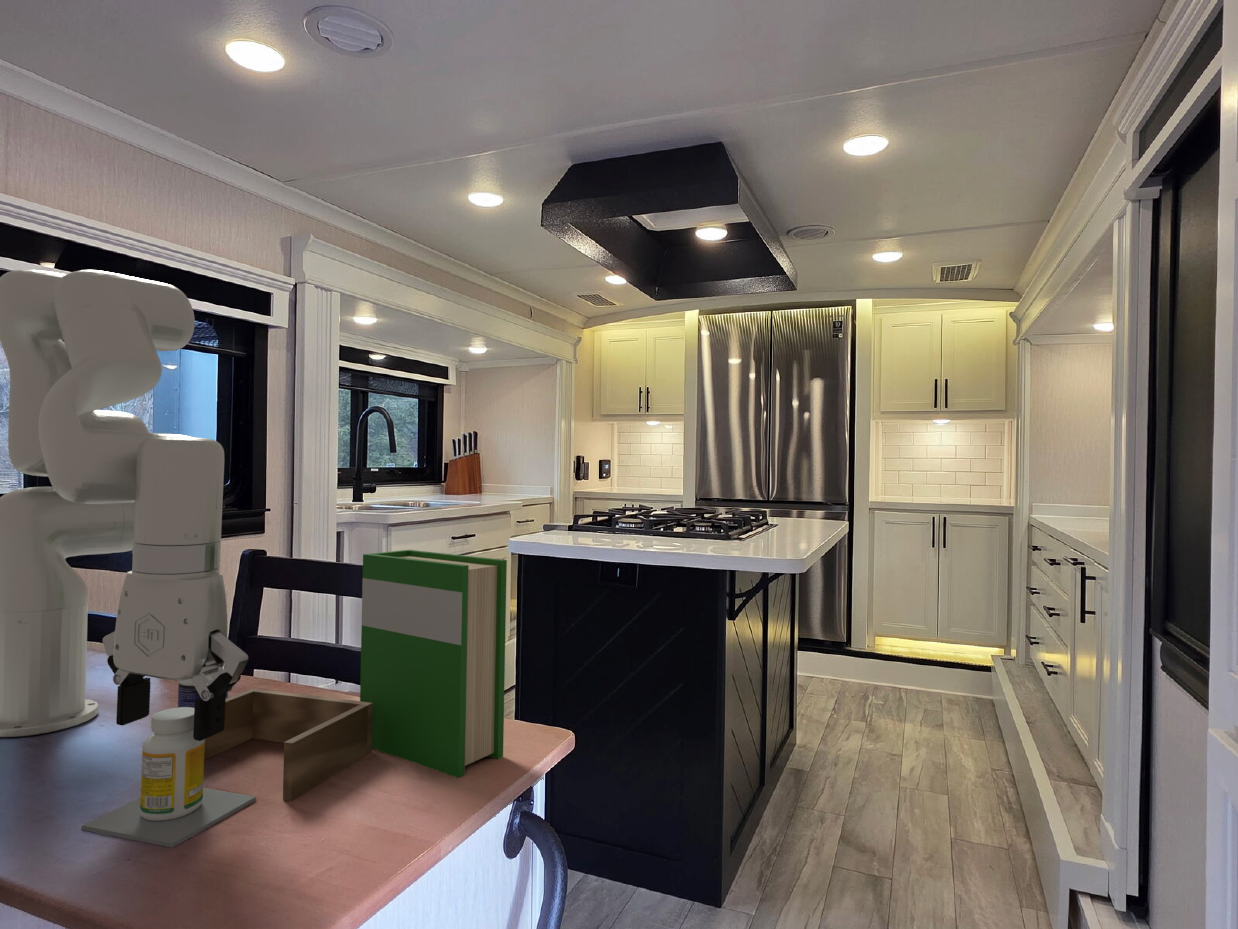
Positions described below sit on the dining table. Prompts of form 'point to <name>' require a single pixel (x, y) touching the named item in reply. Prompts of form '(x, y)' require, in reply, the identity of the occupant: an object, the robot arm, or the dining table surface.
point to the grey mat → (171, 831)
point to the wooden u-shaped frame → (298, 733)
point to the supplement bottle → (171, 766)
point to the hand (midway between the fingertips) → (170, 728)
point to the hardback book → (434, 656)
